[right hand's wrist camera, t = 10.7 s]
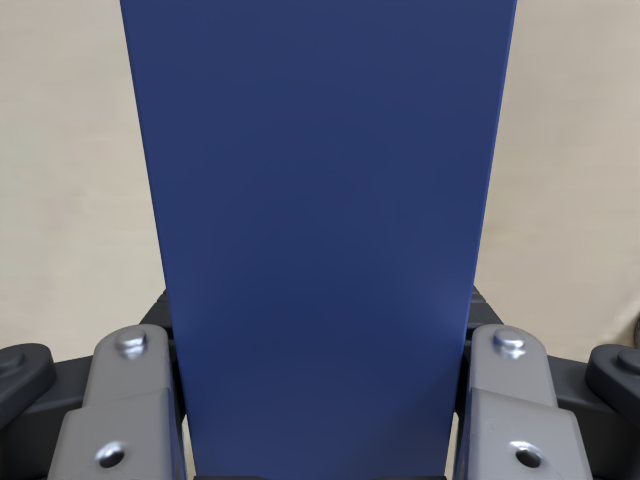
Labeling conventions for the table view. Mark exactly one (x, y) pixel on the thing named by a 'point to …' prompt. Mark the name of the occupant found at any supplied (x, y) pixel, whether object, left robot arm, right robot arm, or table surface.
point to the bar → (319, 220)
